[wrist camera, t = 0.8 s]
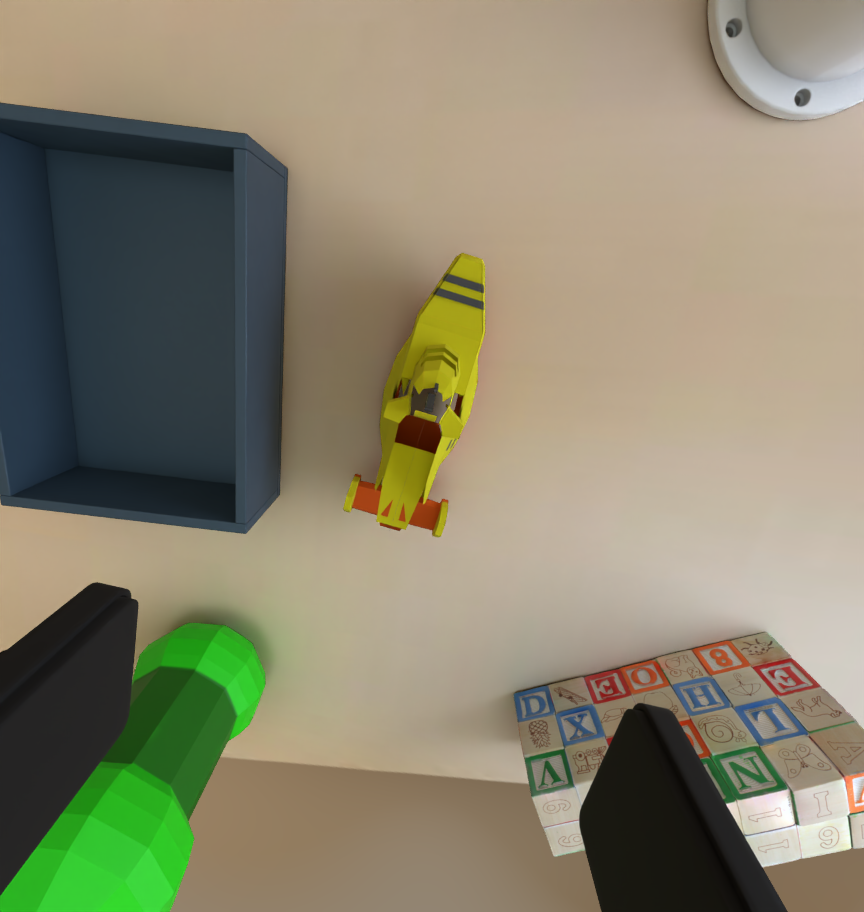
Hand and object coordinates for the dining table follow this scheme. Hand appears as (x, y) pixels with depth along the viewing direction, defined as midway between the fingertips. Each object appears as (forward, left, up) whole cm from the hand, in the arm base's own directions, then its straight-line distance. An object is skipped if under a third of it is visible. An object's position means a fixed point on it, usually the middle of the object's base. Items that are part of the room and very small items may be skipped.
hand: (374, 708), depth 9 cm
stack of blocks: (+22, +21, -27) cm, 41 cm away
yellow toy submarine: (-1, 0, -27) cm, 27 cm away
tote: (-3, -18, -27) cm, 32 cm away
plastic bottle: (+23, -15, -27) cm, 38 cm away
